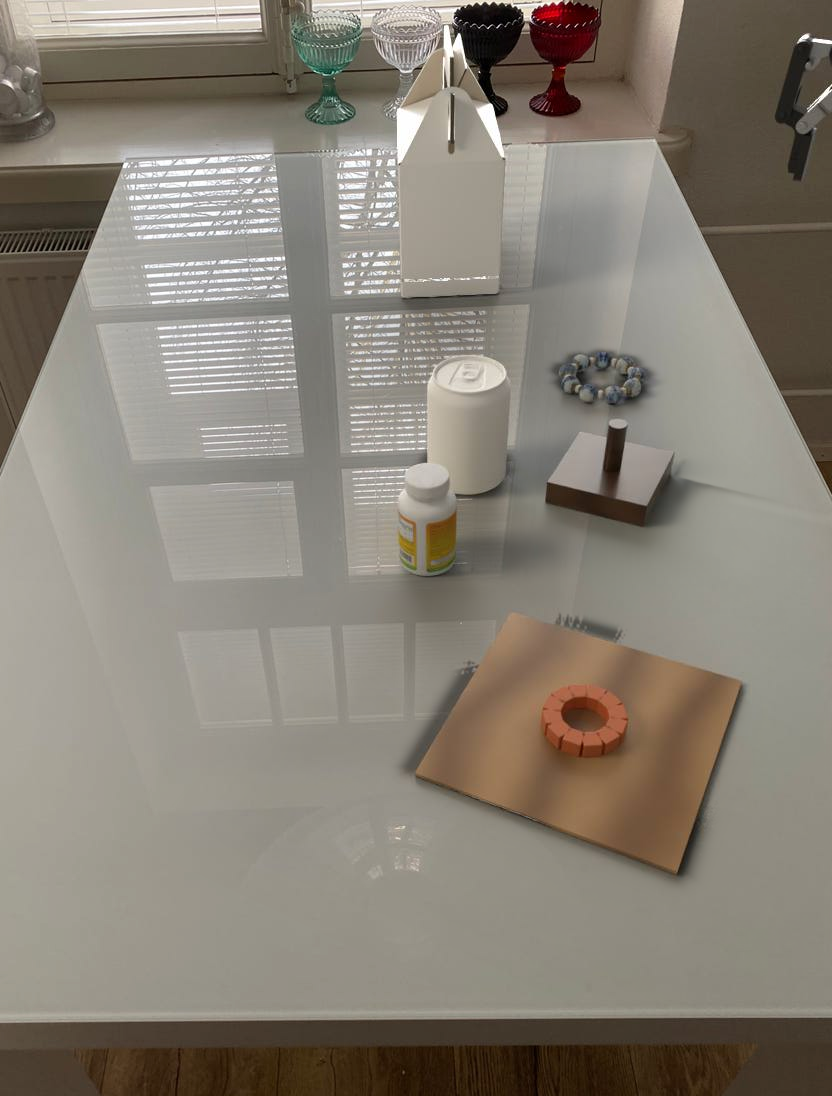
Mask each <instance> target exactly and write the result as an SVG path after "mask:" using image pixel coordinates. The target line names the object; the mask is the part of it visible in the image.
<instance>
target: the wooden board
mask: <svg viewBox="0 0 832 1096" xmlns="http://www.w3.org/2000/svg"><path fill="white" fill-rule="evenodd" d="M578 684H586V687H587V688H588V686H589V684H590V685H593V686H596V687H599V688H603V689H606V693H608V692H611V693H612V694H613V695H614V696H615V697H617V698H618V699H619V700H620V701H621V702H622V705H624V707H625V710H626V713H627V716H628V724H627V729H626V733H625V735H624V738H623V740H622V742H621V744H620V745H618V748H616V749H614V750H613V751H611V752H609V753H608V754H606V755H603V754H602V753H601V756H598V757H582V754H581V753H580V755H579V757H577V756H574V755H571V754H569V753H566V752H563V751H561V747H560V748H559V749H557V748H556V747H555V746H554V745H553V744H552V743H551V742H550V741H549V740H548V739H547V738H546V735H544V731H543V727H542V723H541V719H542V710H543V706H544V704H545V702H546V700H547V698H548V696H549V695H550V696H551V693H553V692H555V691H556V690H558V689H560V688H562V687H564V686H565V687H567V688H568V685H578ZM742 684H743V680H741V679H738V678H733V677H731V676H727V675H723V674H720V673H717V672H714V671H710V670H707V669H704V668H700V667H697V666H693V665H690V664H686V663H683V662H680V661H676V660H673V659H670V658H667V657H664V656H661V655H655V654H653V653H650V652H647V651H643V650H640V649H636V648H633V647H630V646H626V645H623V644H619V643H616V642H613V641H609V640H606V639H604V638H603V639H602V638H600V637H596V636H593V635H589V634H585V633H583V632H579V631H575V630H572V629H569V628H565V627H562V626H559V625H556V624H552V623H549V622H546V621H543V620H539V619H536V618H532V617H529V616H527V615H526V616H525V615H522V614H519V613H515V612H512V611H511V612H510V613H509V615H508V616H507V619H505V622H504V623H503V625H502V626H501V628H500V630H499V631H498V633H497V635H496V637H495V638H494V640H493V642H492V643H491V645H490V647H489V648H488V650H487V651H486V653H485V655H484V657H483V658H482V660H481V661H480V663H479V665H478V667H477V668H476V670H475V671H474V674H473V675H472V676H471V679H470V680H469V681H468V683H467V685H466V687H465V688H464V690H463V692H462V693H461V695H460V697H459V698H458V699H457V702H456V704H455V705H454V707H453V708H452V710H451V712H450V714H449V715H448V717H447V718H446V720H445V722H444V723H443V725H442V727H441V728H440V730H439V732H438V734H437V735H436V737H435V739H434V740H433V742H432V744H431V745H430V747H429V749H428V750H427V751H426V753H425V755H424V757H423V758H422V760H421V762H420V764H419V765H418V767H417V769H416V770H415V772H414V777H416V776H417V777H416V778H418V777H420V778H419V779H421V778H422V779H421V780H423V779H425V780H424V781H426V780H428V781H427V782H429V781H431V782H433V783H432V784H434V783H437V784H440V785H442V786H445V787H447V788H449V789H448V790H450V789H453V790H456V791H458V792H461V793H463V794H467V795H470V796H474V797H476V798H480V799H482V800H485V801H487V802H489V803H493V804H495V805H498V806H500V807H504V808H506V809H508V810H512V811H515V812H518V813H520V814H522V815H524V816H528V817H530V818H532V819H535V820H537V821H539V822H540V823H543V824H546V825H548V826H550V827H549V828H551V827H552V828H551V829H553V828H554V829H553V830H556V829H557V830H556V831H559V832H562V833H563V834H567V835H570V836H572V837H575V838H578V839H581V840H583V841H586V842H588V843H590V844H592V845H596V846H599V847H601V848H604V849H606V850H609V851H612V852H614V853H617V854H620V855H622V856H625V857H628V858H630V859H633V860H634V861H635V860H636V861H638V862H641V863H644V864H646V865H648V866H650V867H654V868H657V869H660V870H662V871H663V872H664V871H665V872H668V873H669V874H672V875H676V876H677V875H678V872H679V869H680V866H681V863H682V860H683V857H684V855H685V852H686V848H687V846H688V843H689V840H690V837H691V834H692V831H693V828H694V825H695V822H696V819H697V816H698V814H699V810H700V807H701V805H702V801H703V799H704V795H705V793H706V790H707V788H708V784H709V781H710V779H711V778H710V777H711V776H712V772H713V769H714V767H715V763H716V760H717V757H718V754H719V751H720V748H721V746H722V742H723V739H724V736H725V733H726V731H727V728H728V725H729V722H730V719H731V716H732V713H733V710H734V707H735V704H736V701H737V698H738V696H739V692H740V690H741V687H742ZM562 719H563V721H564V722H565V723H566V724H567V725H568V726H569V727H570V728H572V729H575V730H578V731H581V732H596V731H598V730H600V729H602V728H603V727H605V726H606V722H605V719H604V718H603V717H602V716H601V715H599V714H598V713H597V712H595V711H592V710H589V709H586V708H575V709H571V710H569V711H568V712H566V713H564V714H563V716H562ZM431 782H430V783H431ZM437 784H436V785H437ZM442 786H441V787H442ZM445 787H444V788H445ZM447 788H446V789H447ZM453 790H452V791H453ZM458 792H457V793H458ZM461 793H460V794H461ZM463 794H462V795H463ZM540 823H539V824H540ZM543 824H542V825H543ZM548 826H547V827H548Z"/></svg>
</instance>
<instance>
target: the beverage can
mask: <svg viewBox="0 0 832 1096" xmlns="http://www.w3.org/2000/svg"><path fill="white" fill-rule="evenodd" d="M507 374H508V373H507V369H506V367H505V366H504V365H503V364H502V363H501V362H499V361H498V360H496V359H493V358H490V357H488V356H483V355H474V354H466V355H465V354H464V355H456V356H453V357H452V356H451V357H450V358H449V357H448V358H447V359H444V360H442V361H440V362H439V363H437V365H435V367H434V368H433V370H432V373H431V376H430V378H429V379H428V381H427V385H426V386H427V388H426V398H427V399H426V400H427V401H426V407H427V409H426V412H427V414H426V415H427V416H426V417H427V418H426V422H427V423H426V425H427V426H426V428H427V429H426V431H427V432H426V433H427V435H426V436H427V438H426V439H427V441H426V442H427V446H426V448H427V450H426V451H427V453H426V454H427V455H426V456H427V459H426V460H427V462H426V463H435V464H438V465H441V466H443V467H445V468H446V469H447V470H448V472H449V475H450V486H449V488H450V489H451V490H452V491H453V492H454V494H455V495H465V496H466V495H467V496H469V495H478V494H483V493H485V492H489V491H490V490H493V489H495V488H496V487H498V486H499V485H500V484H501V483H502V482H503V480H504V479H505V477H506V474H507V473H506V472H507V457H508V456H507V455H508V441H509V440H508V439H509V426H510V425H509V423H510V410H511V409H510V408H511V393H512V392H511V391H512V384H511V381H510V378H509V377H508V375H507Z"/></svg>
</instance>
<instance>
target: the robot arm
mask: <svg viewBox="0 0 832 1096" xmlns="http://www.w3.org/2000/svg"><path fill="white" fill-rule="evenodd" d="M825 58H828V61H829V64H830V66H831V68H832V40H828V39H819V38H816V37H815V36H814V34H812V33H805V34H803V35H802V36H801V37H800V38H799V40H798V41H797V42H796V43H795V45H794V47H793V50H792V53H791V56H790V62H789V64H788V68H787V71H786V74H785V79H784V81H783V85H782V88H781V92H780V96H779V99H778V102H777V107H776V109H775V114H774V120H775V122H776V123H777V124H781V125H783V124H784V125H787V126H788V127H790V128H792V130H793V131H794V137H793V142H792V146H791V150H790V155H789V159H788V163H787V173H788V174H793V177H792V181H793V182H799V183H802V181H804V178H805V176H806V173H807V169H808V165H809V162H810V159H811V153H812V150H813V145H814V142H815V139H816V135H817V130H818V127H815V126H816V125H818V124H819V123H820V122H821V121H822V120H823V119H824V118H825V117H826V116H827V115H829V114H830V113H831V112H832V84H830V85H829V87H827V89H825V90H824V92H822V94H821V95H819V97H818V98H816V99H815V101H814V102H812V104H810V105H809V107H807V108H806V107H803V106H802V105H800V104H798V102H799V99H800V96H801V92H802V88H803V85H804V82H805V79H806V75H807V72H812V71H814V70H815V69H816V68H817V67H818V65H819V64H820V62H821V61H822V60H823V59H825Z"/></svg>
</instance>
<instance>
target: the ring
mask: <svg viewBox="0 0 832 1096" xmlns="http://www.w3.org/2000/svg"><path fill="white" fill-rule="evenodd" d="M575 708H586V709H589V710H592V711H595V712H597V713H598V714H599V715H601V716H602V717H603V718H604V719H605V722H606V726H605V727H603V728H602V729H600V730H598V731H596V732H581V731H578V730H575V729H572V728H570V727H569V726H568V725H567V724H566V723H565V722H564V721H563V719H562V716H563V714H564V713H566V712H568V711H569V710H571V709H575ZM541 723H542V727H543V731H544V735H546V738H547V739H548V740H549V741H550V742H551V743H552V744H553V745H554V746H555V747H556V748H557V749H559V748H560V747H561V751H563V752H566V753H569V754H571V755H574V756H577V757H579V755H580V753H581V754H582V757H598V756H601V753H602V754H603V755H606V754H608V753H609V752H611V751H613V750H614V749H616V748H618V745H620V744H621V742H622V740H623V738H624V735H625V733H626V729H627V724H628V716H627V713H626V710H625V707H624V705H622V702H621V701H620V700H619V699H618V698H617V697H615V696H614V695H613V694H612V693H611V692H608V693H606V689H603V688H599V687H596V686H593V685H590V684H589V686H588V688H587V687H586V684H578V685H568V688H567V687H565V686H564V687H562V688H560V689H558V690H556V691H555V692H553V693H551V696H550V695H549V696H548V698H547V700H546V702H545V704H544V706H543V710H542V719H541Z"/></svg>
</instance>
